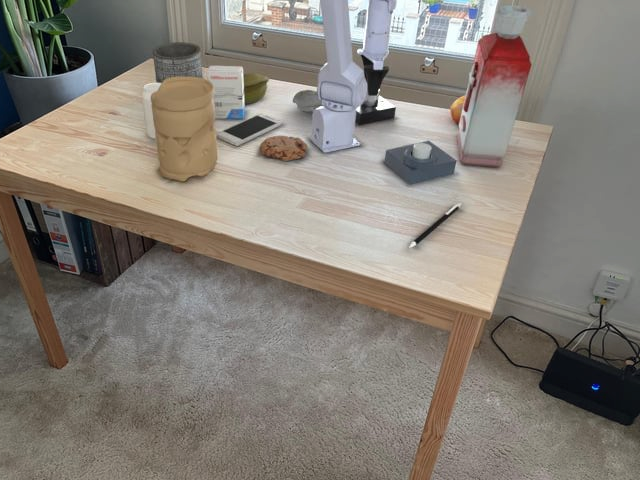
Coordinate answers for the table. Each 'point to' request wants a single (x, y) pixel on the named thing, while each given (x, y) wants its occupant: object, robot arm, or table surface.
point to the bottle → (494, 90)
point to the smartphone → (248, 129)
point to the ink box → (227, 91)
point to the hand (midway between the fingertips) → (370, 88)
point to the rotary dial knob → (371, 100)
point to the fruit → (457, 109)
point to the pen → (435, 225)
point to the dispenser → (419, 163)
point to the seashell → (307, 100)
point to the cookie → (283, 147)
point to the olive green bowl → (254, 87)
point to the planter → (177, 61)
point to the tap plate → (375, 112)
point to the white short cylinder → (421, 151)
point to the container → (185, 127)
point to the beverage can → (149, 107)
